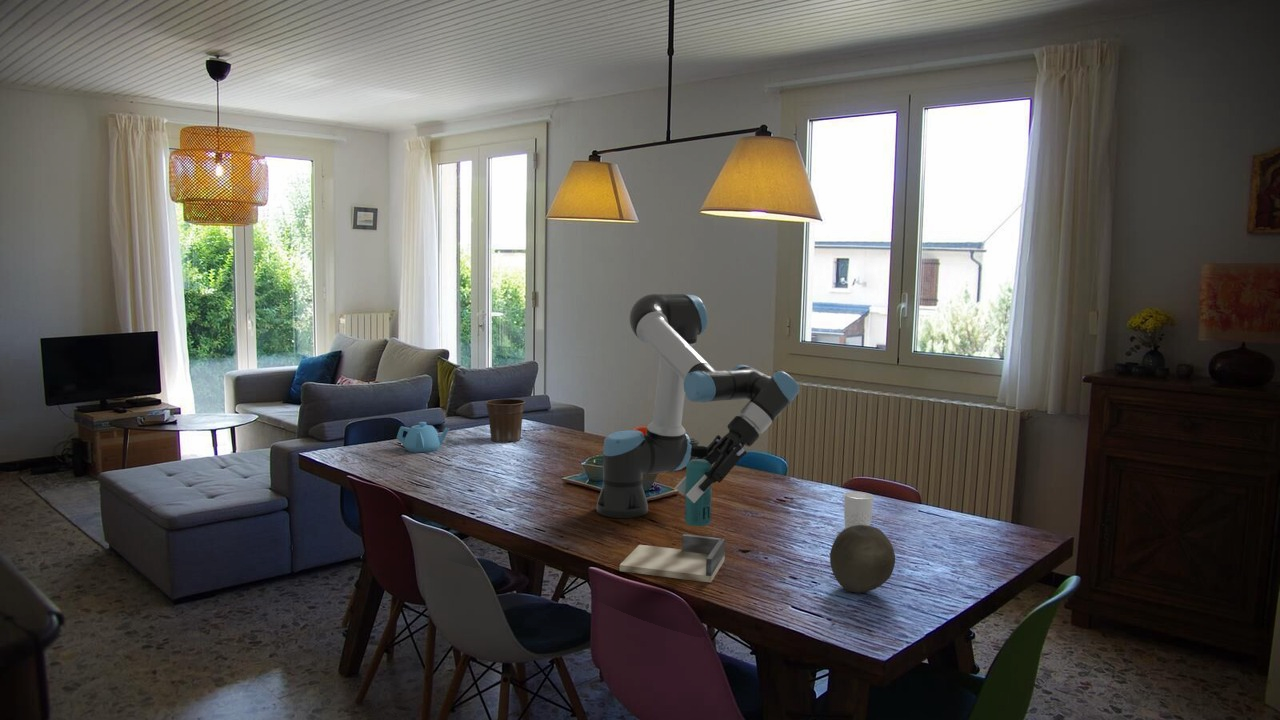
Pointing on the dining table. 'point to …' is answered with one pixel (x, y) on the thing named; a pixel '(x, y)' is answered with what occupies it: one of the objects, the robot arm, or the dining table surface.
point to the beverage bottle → (694, 472)
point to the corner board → (679, 559)
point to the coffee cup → (692, 443)
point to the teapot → (421, 438)
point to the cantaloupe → (862, 558)
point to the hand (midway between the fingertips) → (684, 495)
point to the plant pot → (505, 419)
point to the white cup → (857, 508)
